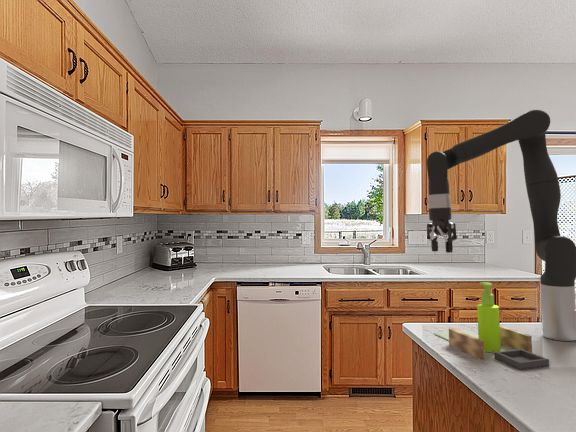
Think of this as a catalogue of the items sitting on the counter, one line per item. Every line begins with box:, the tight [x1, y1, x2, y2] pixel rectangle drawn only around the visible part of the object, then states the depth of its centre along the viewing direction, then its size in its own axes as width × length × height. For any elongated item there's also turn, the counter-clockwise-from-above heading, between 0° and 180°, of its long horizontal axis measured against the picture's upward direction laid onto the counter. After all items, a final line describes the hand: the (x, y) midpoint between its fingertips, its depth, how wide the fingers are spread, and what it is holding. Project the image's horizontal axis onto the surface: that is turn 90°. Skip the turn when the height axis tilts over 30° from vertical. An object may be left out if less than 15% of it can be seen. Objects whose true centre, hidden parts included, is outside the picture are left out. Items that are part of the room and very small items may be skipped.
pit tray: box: [493, 349, 550, 371], centre depth 106 cm, size 9×9×2 cm
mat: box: [433, 329, 478, 342], centre depth 130 cm, size 11×13×1 cm
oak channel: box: [448, 325, 533, 360], centre depth 117 cm, size 14×17×5 cm
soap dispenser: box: [476, 281, 502, 353], centre depth 117 cm, size 6×7×20 cm
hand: (441, 251), depth 140 cm, fingers open, 8 cm apart
